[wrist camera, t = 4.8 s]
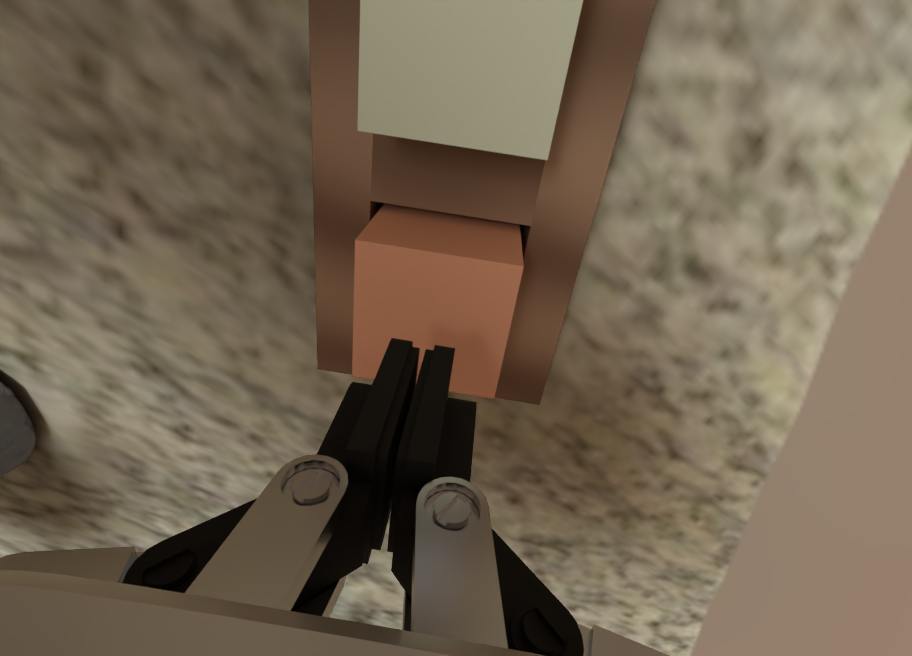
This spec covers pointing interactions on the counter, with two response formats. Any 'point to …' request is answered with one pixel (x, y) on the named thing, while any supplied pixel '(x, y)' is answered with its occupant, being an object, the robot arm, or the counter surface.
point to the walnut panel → (469, 180)
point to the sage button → (466, 71)
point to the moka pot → (14, 432)
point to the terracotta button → (436, 291)
